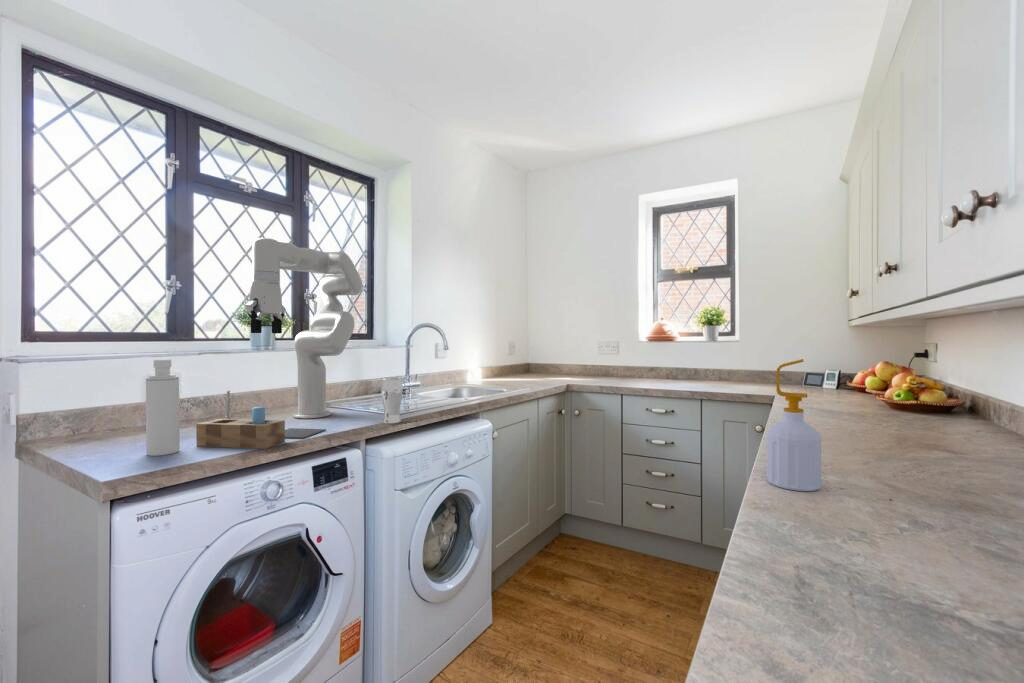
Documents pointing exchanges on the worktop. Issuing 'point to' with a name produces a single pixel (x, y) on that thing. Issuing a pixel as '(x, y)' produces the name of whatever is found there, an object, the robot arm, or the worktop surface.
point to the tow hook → (227, 406)
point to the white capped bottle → (162, 410)
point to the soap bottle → (793, 447)
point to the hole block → (240, 433)
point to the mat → (301, 433)
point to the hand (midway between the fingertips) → (266, 333)
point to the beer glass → (391, 399)
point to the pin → (258, 415)
